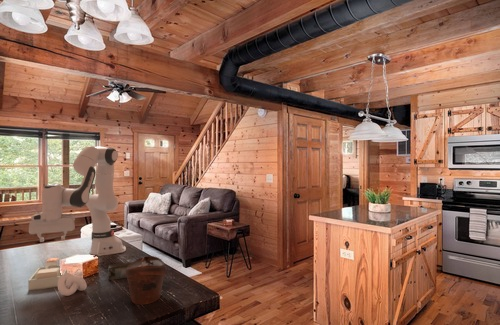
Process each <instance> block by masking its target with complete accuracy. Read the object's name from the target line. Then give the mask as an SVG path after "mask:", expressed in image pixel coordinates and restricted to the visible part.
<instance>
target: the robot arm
mask: <svg viewBox="0 0 500 325" xmlns="http://www.w3.org/2000/svg"><path fill="white" fill-rule="evenodd" d="M118 156H119V155H118V151H117V150H116V148H112V147H107V146H94V145H87V146H85V147H84V148H83V149H82V150H81V151H80V152H79V153H78V155H77V156H76V158H75V159H74V162H73V164H72V168H73V169H74V171H75V172H76V173H77V174H79V175H80V176H82V177H83V178H82V180H81V184H80V186H79V187H76V188H67V187H64V186H62V185H61V184H60V183H58V182H55V183H49V184H46V185H44V186H43V188H42V192H41V202H42V203H41V204H42V208H41V212H38V213H34V214H33V215H32V216H31V217H30V219H31V221H30V222H29V224H28V233H29V235H36V236H37V237H38V238H39V242H40V243H42V242H45V237H43V236H42V234H51V233H63V235H62V236H61V237H60V240H61V241H63V240H64V241H65V240H66V235H67V233H68V232H74V230H75V229H76V227H75V221H76V216H75V214H73V213H63V207H64V206H65V207H76V208H83V207H84V206H86V207H87V209H88V211H89V214H90V217H91V219H92V220H91V222H92V227H91V228H92V230H91V231H92V232H91V234H90V235H91V245H90V246H91V247H90V250H89V254H90V255H91V256H92V255H94V256H97V257H98V256H99V257H100V256H101V257H102V256H108V255H113V254H121V253H124V252H126V250H127V248H126V246H125V245H123V242H122V241H123V240H122V239H121V238H119V237H117V236H116V235H115V231H114V230H112V228H111V225H112V224H111V218H110V216H109V214H108V212H114V211H115V210H117V208H118V206H119V199H118V198H117V197H116V196H115V192H114V176H115V163H116V162H117V160H118ZM96 165H97V166H96ZM95 167H96V169H95ZM93 185H94V187H95V188H96V190H97V193H94V194H90V193H91V189H92V186H93Z"/></svg>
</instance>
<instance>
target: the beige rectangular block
mask: <svg viewBox="0 0 500 325" xmlns="http://www.w3.org/2000/svg"><path fill="white" fill-rule="evenodd" d="M57 276H60V269H59V268H51V269H42V270H39V271H38V272H37V274H36V279H40V278H49V277H57Z"/></svg>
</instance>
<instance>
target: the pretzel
mask: <svg viewBox="0 0 500 325" xmlns="http://www.w3.org/2000/svg"><path fill="white" fill-rule="evenodd" d="M83 275H84V273H83V271H82V270H81V269H80V270H77V271H76V272H75V273H74V274H72V273H70V272H69V273H65V274H63V275H61V276H60V278H59V279H58V284H57V286H58V287H57V291H58V292H59V293H60V294H61V295H62V296H65V297H68V296H72V295H74V293H76V291H80V292H81V291H85V290H86V289H87V287H88V286H87V282H86V280H85V278H83Z"/></svg>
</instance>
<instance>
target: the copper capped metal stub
mask: <svg viewBox="0 0 500 325" xmlns="http://www.w3.org/2000/svg"><path fill="white" fill-rule="evenodd" d="M59 265H60V258H59V257H53V258H52V257H51V258H47V260H46V261H45V267H46V269H51V268H59Z"/></svg>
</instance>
